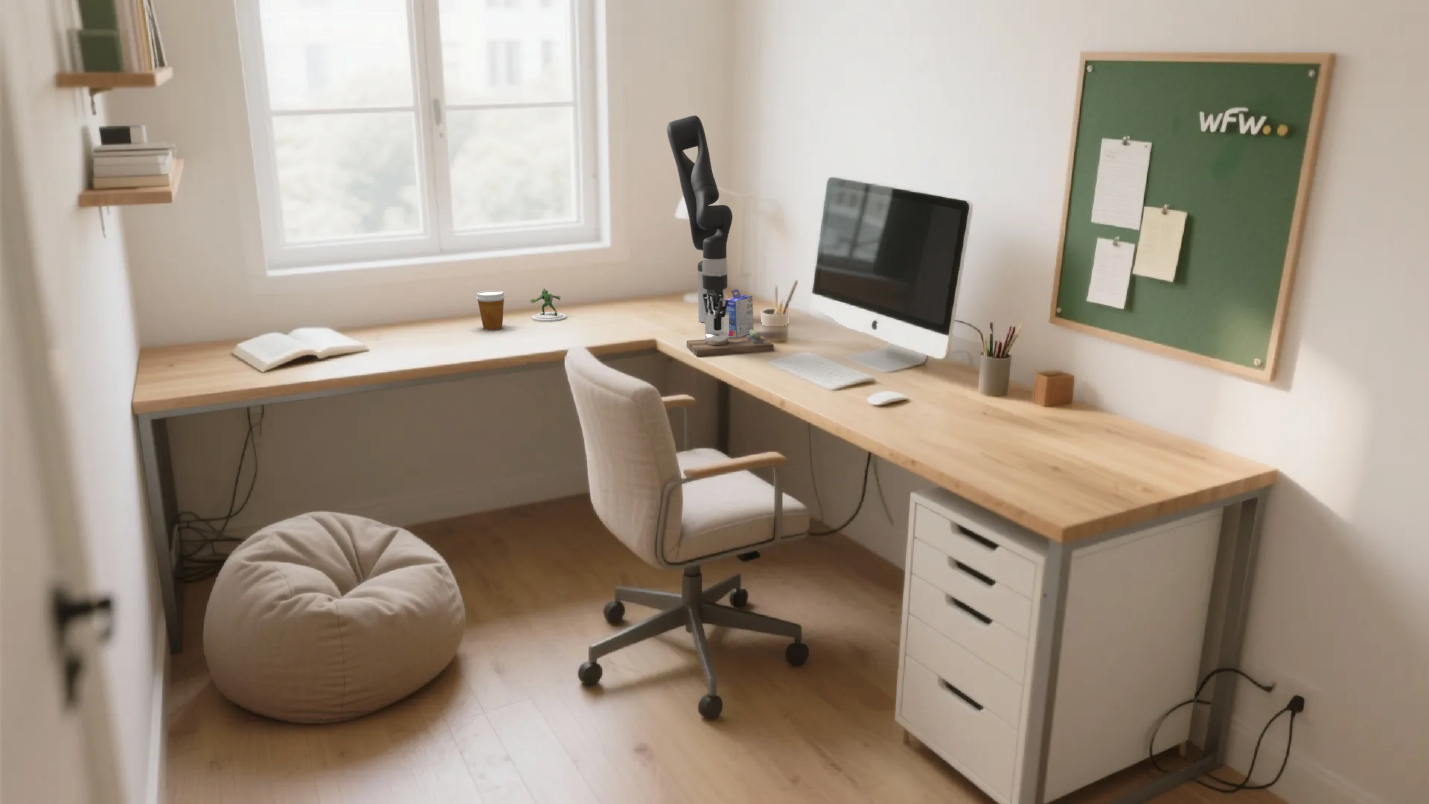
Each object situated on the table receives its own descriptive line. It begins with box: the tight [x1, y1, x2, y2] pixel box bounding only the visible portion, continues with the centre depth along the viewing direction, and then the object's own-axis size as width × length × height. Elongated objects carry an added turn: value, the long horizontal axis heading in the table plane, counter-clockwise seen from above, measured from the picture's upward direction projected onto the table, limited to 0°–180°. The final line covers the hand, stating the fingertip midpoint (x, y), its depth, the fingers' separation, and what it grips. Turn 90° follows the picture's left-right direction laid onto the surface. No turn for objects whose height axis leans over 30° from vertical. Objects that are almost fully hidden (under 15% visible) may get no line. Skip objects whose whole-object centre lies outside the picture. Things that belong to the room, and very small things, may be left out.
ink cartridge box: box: [725, 288, 755, 338], centre depth 357 cm, size 10×6×14 cm, turn 144°
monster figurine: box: [529, 287, 567, 323], centre depth 386 cm, size 12×12×10 cm
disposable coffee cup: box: [475, 290, 506, 331], centre depth 372 cm, size 10×10×12 cm
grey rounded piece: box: [704, 313, 729, 346], centre depth 337 cm, size 7×7×9 cm
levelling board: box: [686, 329, 775, 358], centre depth 339 cm, size 13×24×5 cm, turn 105°
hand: (715, 328), depth 337 cm, fingers closed on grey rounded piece, 2 cm apart
